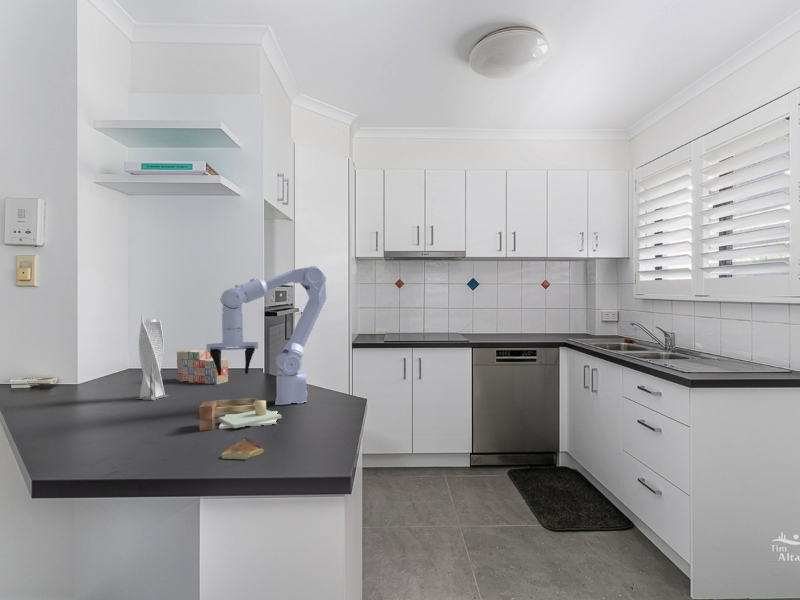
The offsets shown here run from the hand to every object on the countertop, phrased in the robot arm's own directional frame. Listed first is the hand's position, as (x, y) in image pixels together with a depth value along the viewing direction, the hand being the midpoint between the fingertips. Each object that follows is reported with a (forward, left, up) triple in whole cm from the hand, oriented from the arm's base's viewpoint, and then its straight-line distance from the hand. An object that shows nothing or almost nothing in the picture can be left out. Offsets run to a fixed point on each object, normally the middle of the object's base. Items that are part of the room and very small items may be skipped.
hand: (233, 373), depth 136 cm
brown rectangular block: (+4, +18, -10) cm, 22 cm away
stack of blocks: (+18, -51, -11) cm, 55 cm away
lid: (-6, +17, -10) cm, 20 cm away
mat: (-6, +16, -10) cm, 20 cm away
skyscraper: (+29, -24, -11) cm, 39 cm away
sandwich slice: (-6, +41, -11) cm, 43 cm away
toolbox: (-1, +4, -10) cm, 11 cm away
